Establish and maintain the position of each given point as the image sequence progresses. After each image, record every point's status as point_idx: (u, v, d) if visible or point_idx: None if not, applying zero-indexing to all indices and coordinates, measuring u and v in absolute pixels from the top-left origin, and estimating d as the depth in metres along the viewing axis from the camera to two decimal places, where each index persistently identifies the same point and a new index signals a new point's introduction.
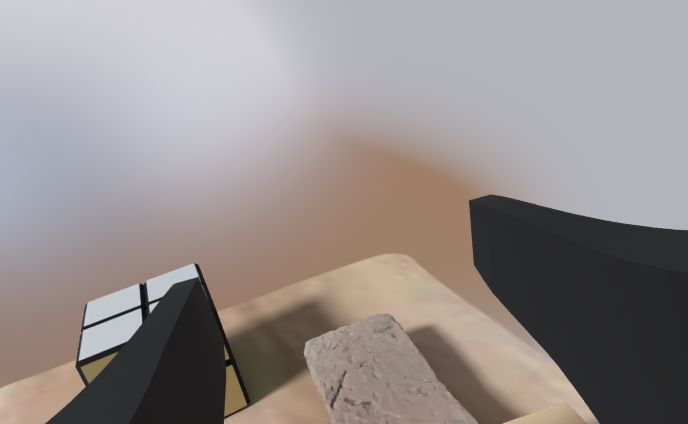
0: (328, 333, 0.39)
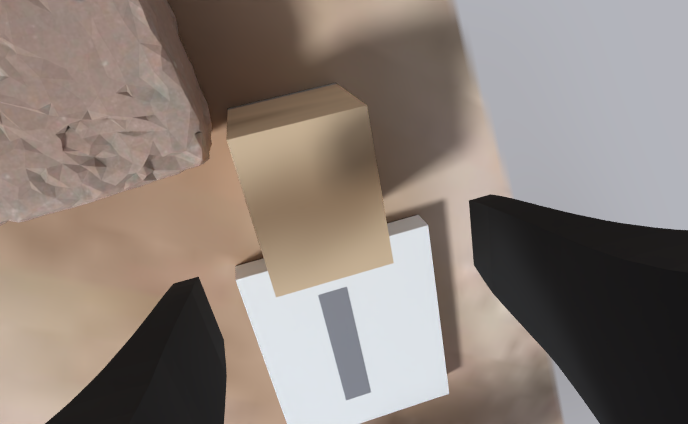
0: None
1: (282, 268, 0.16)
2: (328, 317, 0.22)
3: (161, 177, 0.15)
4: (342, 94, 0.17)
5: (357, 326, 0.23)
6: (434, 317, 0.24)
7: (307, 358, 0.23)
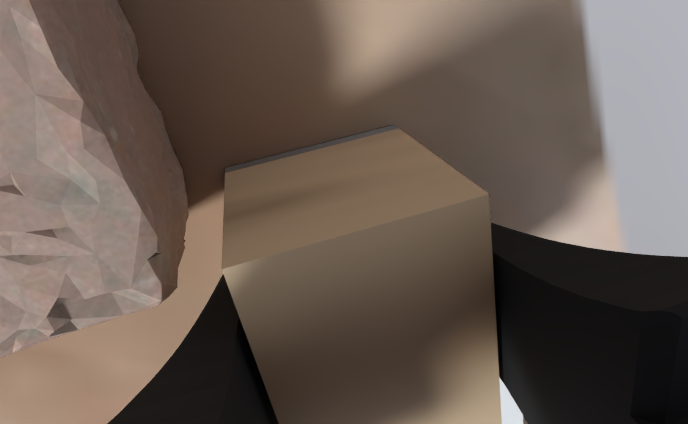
0: None
1: None
2: None
3: (86, 325, 0.08)
4: (420, 155, 0.10)
5: None
6: None
7: None
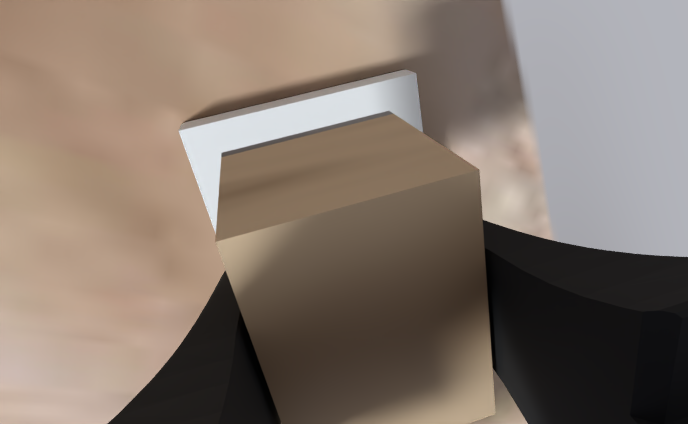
0: None
1: None
2: None
3: None
4: (413, 137, 0.10)
5: None
6: None
7: None
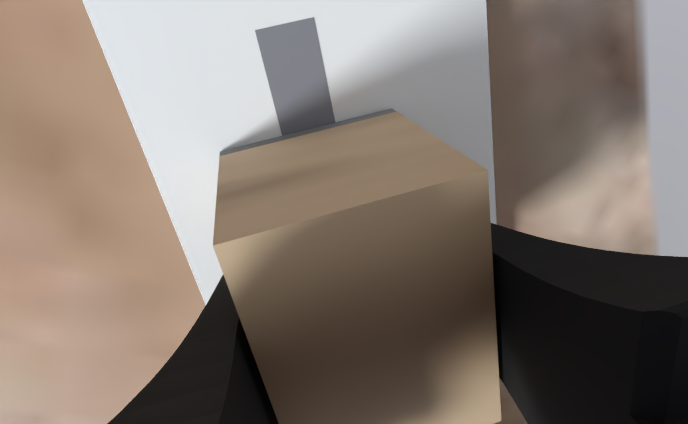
0: None
1: None
2: (279, 89, 0.11)
3: None
4: (418, 136, 0.10)
5: (337, 118, 0.12)
6: (482, 116, 0.13)
7: None
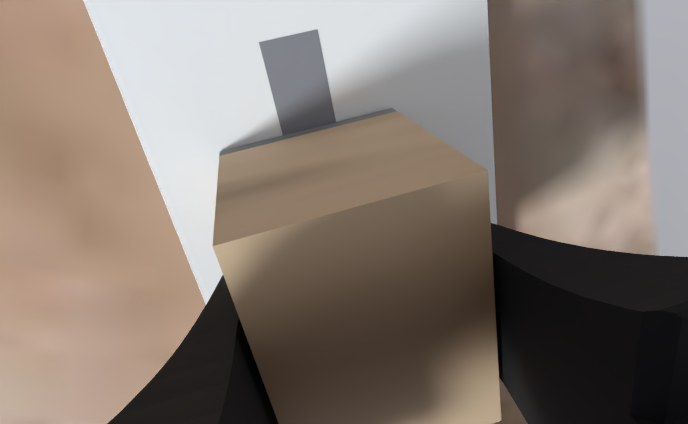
0: None
1: None
2: (282, 100, 0.11)
3: None
4: (418, 136, 0.10)
5: None
6: (483, 126, 0.13)
7: None
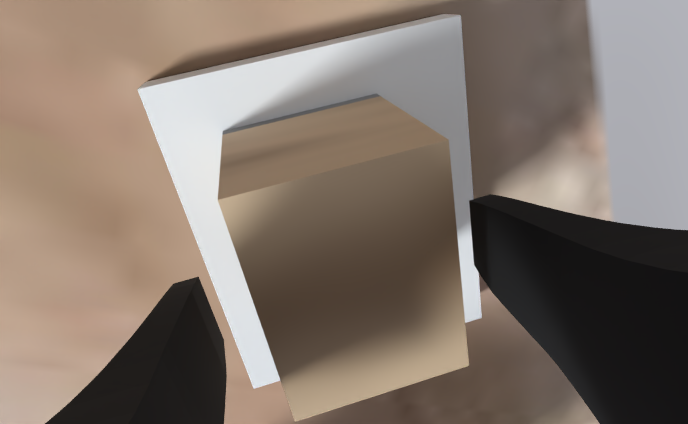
0: None
1: (305, 383, 0.11)
2: None
3: None
4: (395, 115, 0.11)
5: None
6: (465, 188, 0.15)
7: None
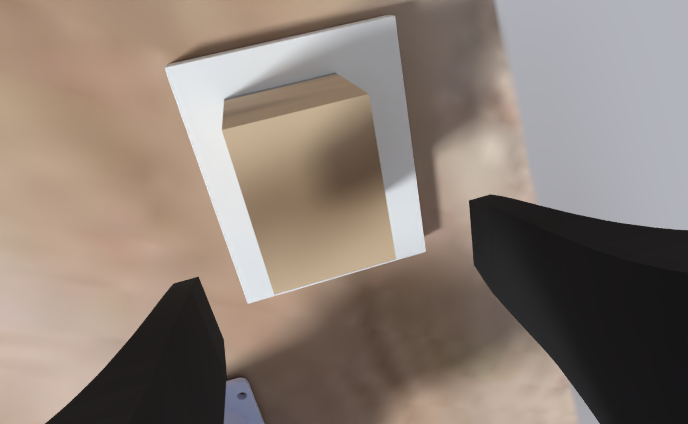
0: None
1: (281, 264, 0.16)
2: None
3: None
4: (342, 83, 0.16)
5: None
6: (406, 146, 0.20)
7: None
